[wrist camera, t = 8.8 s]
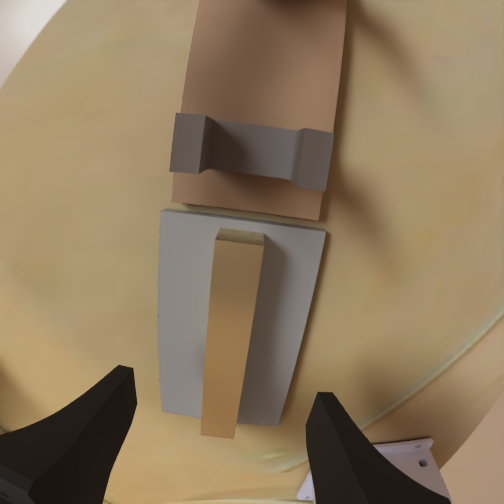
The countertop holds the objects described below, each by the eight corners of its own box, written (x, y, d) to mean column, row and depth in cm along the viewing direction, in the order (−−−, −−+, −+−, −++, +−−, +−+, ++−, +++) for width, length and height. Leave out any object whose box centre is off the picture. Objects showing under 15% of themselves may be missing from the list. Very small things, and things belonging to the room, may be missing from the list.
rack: (346, -42, 10) (377, -98, 5) (314, 216, 14) (344, 255, 9) (218, -59, 9) (205, -121, 5) (176, 198, 14) (135, 228, 9)
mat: (323, 229, 14) (326, 232, 13) (277, 420, 18) (278, 425, 17) (164, 208, 14) (161, 210, 13) (163, 405, 18) (161, 411, 17)
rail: (263, 232, 13) (264, 246, 12) (235, 416, 17) (233, 439, 15) (219, 227, 13) (214, 239, 12) (204, 412, 17) (200, 434, 15)
